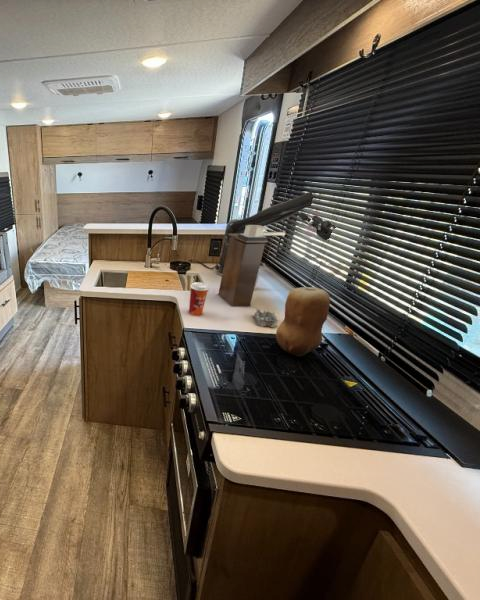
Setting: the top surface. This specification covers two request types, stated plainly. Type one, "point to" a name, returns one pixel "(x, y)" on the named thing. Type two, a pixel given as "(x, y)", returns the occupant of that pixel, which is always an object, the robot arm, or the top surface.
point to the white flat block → (258, 231)
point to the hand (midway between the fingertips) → (306, 215)
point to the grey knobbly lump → (265, 318)
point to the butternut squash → (303, 320)
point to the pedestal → (240, 270)
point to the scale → (252, 238)
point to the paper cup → (197, 298)
